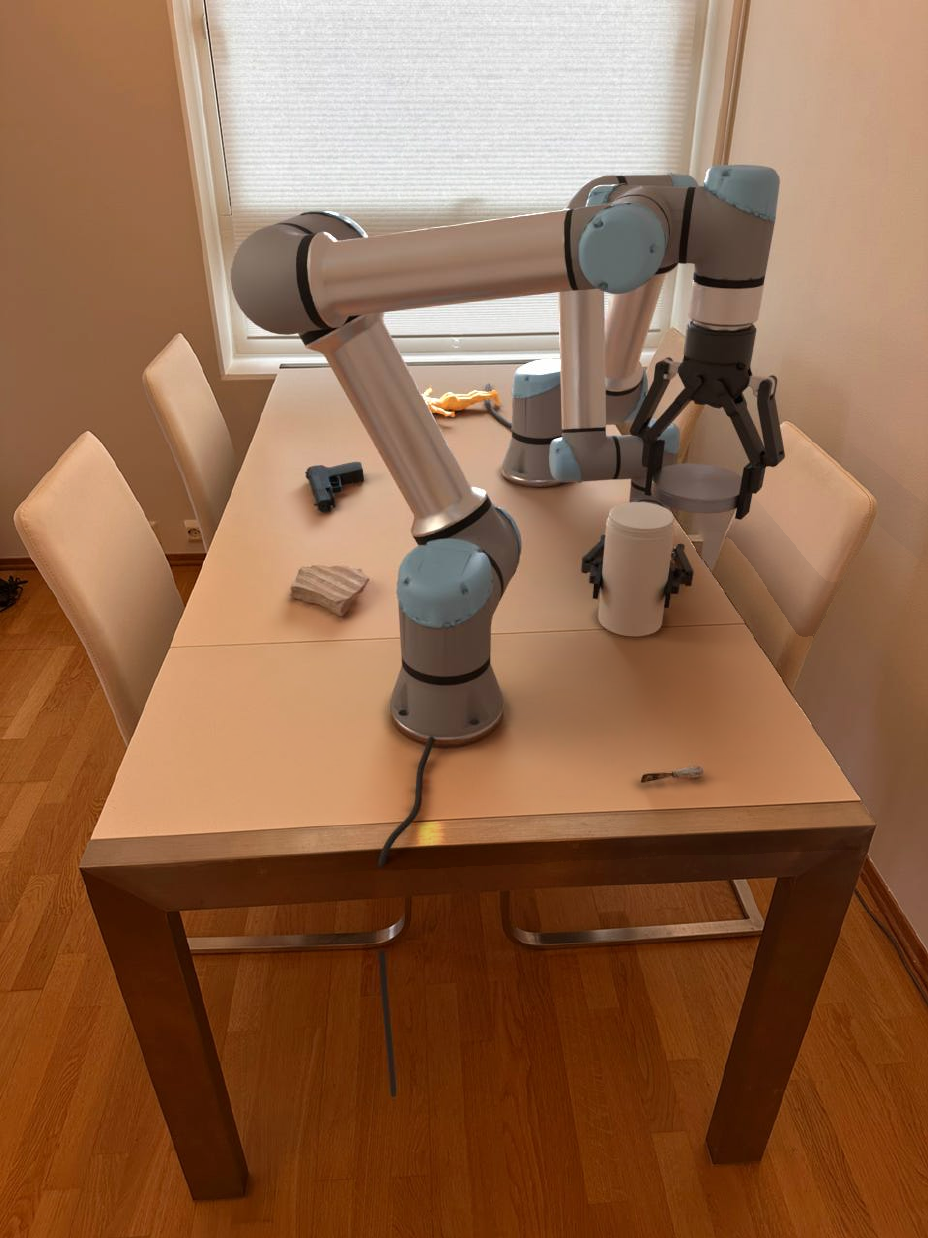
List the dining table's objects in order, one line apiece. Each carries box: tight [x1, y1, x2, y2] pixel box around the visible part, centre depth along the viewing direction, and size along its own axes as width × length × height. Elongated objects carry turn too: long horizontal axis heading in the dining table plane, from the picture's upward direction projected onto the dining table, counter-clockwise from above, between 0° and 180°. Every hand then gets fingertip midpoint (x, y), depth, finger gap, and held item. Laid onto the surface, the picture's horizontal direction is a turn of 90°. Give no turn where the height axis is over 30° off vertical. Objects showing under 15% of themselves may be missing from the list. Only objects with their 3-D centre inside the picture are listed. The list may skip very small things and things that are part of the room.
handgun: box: [304, 461, 365, 513], centre depth 182 cm, size 3×18×12 cm
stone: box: [289, 564, 370, 617], centre depth 147 cm, size 13×12×2 cm
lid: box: [651, 462, 742, 514], centre depth 109 cm, size 11×11×2 cm
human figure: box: [421, 385, 500, 418], centre depth 225 cm, size 20×20×4 cm
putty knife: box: [640, 765, 705, 784], centre depth 109 cm, size 1×8×2 cm, turn 103°
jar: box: [597, 501, 676, 638], centre depth 136 cm, size 10×10×18 cm
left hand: (695, 503), depth 110 cm, fingers closed on lid, 11 cm apart
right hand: (631, 595), depth 134 cm, fingers closed on jar, 10 cm apart
